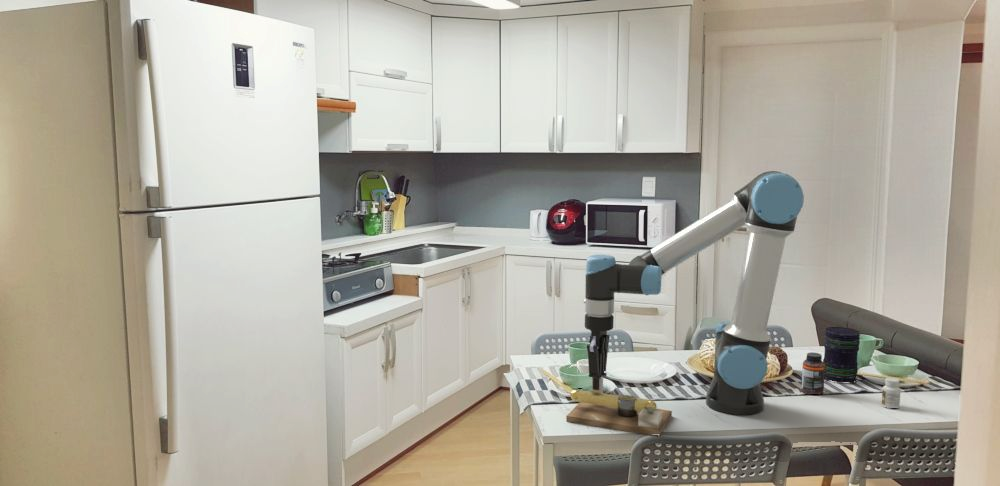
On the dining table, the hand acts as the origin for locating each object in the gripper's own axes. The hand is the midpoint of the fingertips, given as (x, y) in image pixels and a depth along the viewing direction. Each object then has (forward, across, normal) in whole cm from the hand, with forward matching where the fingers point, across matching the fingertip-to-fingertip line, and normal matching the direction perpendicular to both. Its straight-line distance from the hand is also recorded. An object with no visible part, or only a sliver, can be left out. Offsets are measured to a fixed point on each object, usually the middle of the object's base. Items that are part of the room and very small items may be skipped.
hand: (596, 400), depth 207 cm
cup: (+3, -16, -9) cm, 18 cm away
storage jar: (+3, -58, +59) cm, 83 cm away
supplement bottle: (+3, -41, +52) cm, 66 cm away
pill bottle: (+3, -37, +72) cm, 81 cm away
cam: (+1, +3, +5) cm, 6 cm away
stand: (+3, +3, +7) cm, 8 cm away
